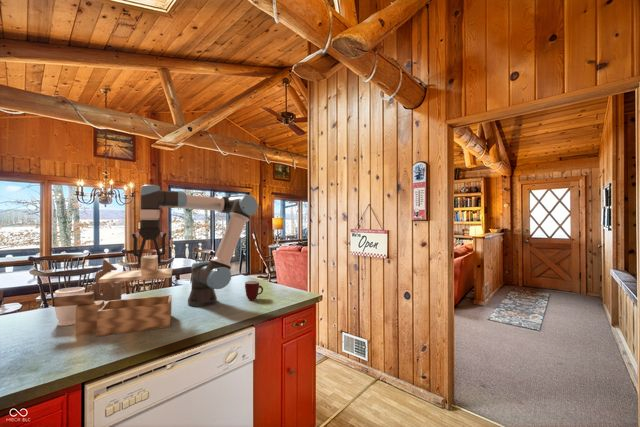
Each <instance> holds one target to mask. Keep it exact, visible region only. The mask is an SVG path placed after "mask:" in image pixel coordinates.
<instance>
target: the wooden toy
mask: <svg viewBox="0 0 640 427" xmlns="http://www.w3.org/2000/svg"><path fill="white" fill-rule="evenodd" d="M117 270H118V268H117V267H115V266H114V265H113V264H112V263H110V262H109V261H108V260H106V259H105V258H104V259H103V261H102V269H100V270H98V272H97V273H96V274H95V282H92V283H91V290H90V291H89V292H95V297H94V301H101V300H104V302H106V301H111V300H122V286H123V285H122V282H123V281H119V282H113V283H114V284H112V282H106V283H102V293H101V283H98V281H99V279H100V278H101V277H102V276H104V275H105V274H106V273H108V272H112V271H117Z"/></svg>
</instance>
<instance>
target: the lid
mask: <svg viewBox="0 0 640 427" xmlns="http://www.w3.org/2000/svg"><path fill="white" fill-rule="evenodd" d="M143 256H144V257H143V258H142V259H141V264H140V269H137V270H125V271H121V270H120V271H111V272H108V273H106V274H105V275H104V276H102V277H101V278H100V279H99V281H98V283H100V284H103V283H106V282H111V283H115V282H129V281H130V282H132V281H143V280H145V281H146V280H157V279H167V278H168V279H169V278H172V276H173V271H174V270H173V268H172V267H171V268H158V271H156V256H157V254H154V255H153V254H151V255H143Z"/></svg>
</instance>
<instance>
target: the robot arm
mask: <svg viewBox="0 0 640 427" xmlns="http://www.w3.org/2000/svg"><path fill="white" fill-rule="evenodd" d="M139 197H140V211H139V212H140V213H139V216H140V222H139V223H140V224H139V231H137V232H134V233H132V234H131V236H132V239H133V245H132V246H133V247H132V249H133V252H132V255H133V256H134V257H137V264H138V265H141V259H142V258H143V257H144V256H145V255H143V252H144V250H145V248H146V247H145V246H146V244H147V243H146V242H147V241H153V245H154V247H155V252H156V255H157V256H156V271H158V269H159V264H160V263H161V262H162V256H164V255H165V254H166V236H167V234H168V233H167V232H162V231H161V229H160V220H159V219H160V214H161V213H160V212H161V211H160V208H162V209H163V208H167V209H169V208H170V209H183V210H184V209H187V210H201V211H216V212H217V213H219V214H226V215H227V214H229V217H230V218H229V221H228V223H227V226H226V228H225V231H224V233H223V235H222V238H221V241H220V243H219V245H218V247H217V249H216V252H215V255H214V256H213V258H211V259H210V260H206V261H197V262H193V263H192V264H191V290H190V293H189V296H188V299H187V306H191V307H206V306H211V305H214V304H216V303H217V301H218V300H217V299H218V297H217V294H216V291H215V290H222V289H224V288H225V287H227V286H228V285H229V284H230V282H231V280H232V272H231V268H232V264H231V260H232V257H233V255H234V253H235V250H236V247H237V246H238V243H239V240H240V237H241V235H242V233H243V230H244V228H245V225H246V223H248V222H249V221H250V219H251V217H252V216H254V215H255V214H256V213H257V211H258V208H259V207H258V206H259V204H258V202H257V200H256V198H255V197H254V196H253V195H251V194H242V195H241V194H240V195H239V194H238V195H237V194H236V195H231V196H230V195H229V196H218V197H214V196H204V195H203V196H202V195H192V194H187V193H186V192H185V191H180V190H177V191H175V190H164V189H163V190H162V189H161V187H160V185H156V184H143V185H141V187H140V194H139ZM159 235H160V237H161V249H160V246H159V243H158V239H157V238H158V237H159ZM139 236H140V237H141V238H142V241H141V245H140V248H139V251H138V242H139V241H138V238H140V237H139Z"/></svg>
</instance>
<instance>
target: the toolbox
mask: <svg viewBox="0 0 640 427" xmlns="http://www.w3.org/2000/svg"><path fill="white" fill-rule="evenodd" d="M172 297H173V295H172V294H169V295H168V294H166V295H157V296H146V297H145V296H144V297H138V298H137V297H134V298H124V299H122V298H121V300H111V301H104V300H101V301H94V302H93V303H92V304H84V305H78V306H76V324H74V325H75V328H74V330H75V331H74V333H75V334H74V335H75V336H83V335H84V336H85V335H90V334H96V337H102V336H104V337H105V336H112V335H117V334H119V335H120V334H125V333H133V332H134V333H135V332H141V331H149V330H157V329H164V328H170V327H171V319H172Z"/></svg>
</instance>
